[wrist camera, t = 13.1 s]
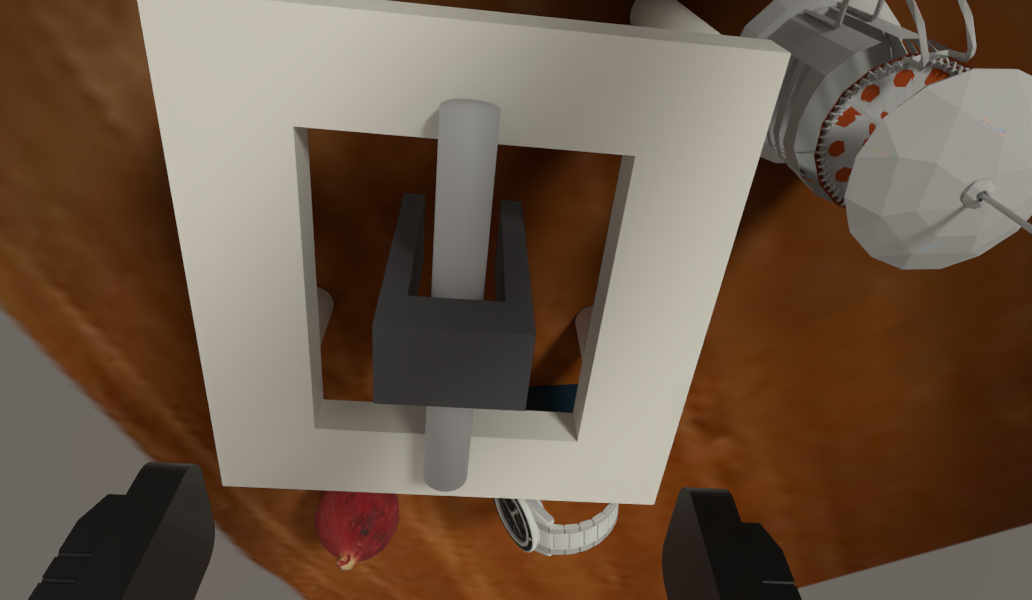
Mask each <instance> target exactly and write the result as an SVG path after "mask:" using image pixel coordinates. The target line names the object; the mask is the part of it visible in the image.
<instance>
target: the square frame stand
mask: <svg viewBox="0 0 1032 600" xmlns="http://www.w3.org/2000/svg"><path fill="white" fill-rule="evenodd" d="M137 2H138V8H139V13H140V19H141V25H142V30H143V36H144V42H145V47H146V53H147V59H148V64H149V70H150V76H151V81H152V87H153V93H154V98H155V104H156V110H157V115H158V121H159V127H160V132H161V138H162V144H163V150H164V155H165V161H166V167H167V172H168V178H169V184H170V189H171V195H172V201H173V206H174V212H175V218H176V223H177V229H178V235H179V240H180V246H181V252H182V257H183V263H184V269H185V274H186V280H187V286H188V292H189V297H190V303H191V309H192V314H193V320H194V326H195V331H196V337H197V343H198V348H199V354H200V360H201V365H202V371H203V377H204V382H205V388H206V394H207V399H208V405H209V411H210V416H211V422H212V428H213V433H214V439H215V445H216V451H217V456H218V462H219V468H220V473H221V479H222V485H223V486H234V487H257V488H280V489H303V490H326V491H349V492H372V493H395V494H418V495H441V496H464V497H487V498H510V499H533V500H556V501H579V502H602V503H625V504H648V505H654V503H655V499H656V496H657V493H658V490H659V486H660V483H661V480H662V476H663V473H664V470H665V467H666V463H667V460H668V457H669V453H670V450H671V447H672V444H673V440H674V437H675V434H676V430H677V427H678V424H679V421H680V417H681V414H682V411H683V407H684V404H685V401H686V398H687V394H688V391H689V388H690V384H691V381H692V378H693V375H694V371H695V368H696V365H697V361H698V358H699V355H700V352H701V348H702V345H703V342H704V338H705V335H706V332H707V329H708V325H709V322H710V319H711V315H712V312H713V309H714V306H715V302H716V299H717V296H718V292H719V289H720V286H721V283H722V279H723V276H724V273H725V269H726V266H727V263H728V260H729V256H730V253H731V250H732V246H733V243H734V240H735V237H736V233H737V230H738V227H739V223H740V220H741V217H742V214H743V210H744V207H745V204H746V200H747V197H748V194H749V191H750V187H751V184H752V181H753V177H754V174H755V171H756V168H757V164H758V161H759V158H760V154H761V151H762V148H763V145H764V141H765V138H766V135H767V131H768V128H769V125H770V122H771V118H772V115H773V112H774V108H775V105H776V102H777V99H778V95H779V92H780V89H781V85H782V82H783V79H784V76H785V72H786V69H787V66H788V62H789V59H790V56H791V53H790V52H788V51H787V50H785V49H784V48H782V47H781V46H779V45H778V44H776V43H775V42H773V41H772V40H767V39H757V38H747V37H737V36H728V35H721V34H720V33H719V32H717V31H716V30H715V29H713V28H712V27H711V26H710V25H708V24H707V23H706V22H704V21H703V20H702V19H700V18H699V17H698V16H696V15H695V14H694V13H692V12H691V11H690V10H689V9H687V8H686V7H685V6H683V5H682V4H681V3H679V2H678V1H677V0H636V1H635V2H634V4H633V6H632V8H631V12H630V23H631V26H630V25H621V24H611V23H601V22H591V21H582V20H572V19H562V18H552V17H543V16H533V15H523V14H514V13H504V12H494V11H484V10H475V9H465V8H455V7H445V6H436V5H426V4H416V3H406V2H397V1H387V0H137ZM307 128H317V129H329V130H341V131H352V132H364V133H375V134H387V135H398V136H410V137H421V138H433V139H438V152H437V175H436V198H435V221H434V243H433V266H432V289H431V297H438V298H454V299H470V300H483V298H484V287H485V276H486V266H487V255H488V244H489V233H490V222H491V211H492V200H493V189H494V178H495V167H496V157H497V146H498V144H502V145H514V146H525V147H537V148H548V149H560V150H571V151H583V152H594V153H606V154H618V155H623V156H622V161H621V166H620V171H619V176H618V182H617V187H616V192H615V197H614V202H613V208H612V213H611V218H610V223H609V228H608V233H607V239H606V244H605V249H604V254H603V259H602V264H601V270H600V275H599V280H598V285H597V290H596V295H595V301H594V306H589V307H586V308H584V309H582V310H581V311H580V312H579V313H578V314H577V316H576V319H575V325H576V330H577V336H578V341H579V346H580V351H581V357H582V362H583V363H582V368H581V373H580V378H579V383H578V389H577V394H576V399H575V404H574V409H573V413H564V412H546V411H528V410H525V411H512V410H492V409H472V408H452V407H432V406H412V405H392V404H373V402H362V401H344V400H325V399H323V384H322V367H321V350H320V346H321V343H322V340H323V337H324V334H325V331H326V328H327V325H328V322H329V319H330V316H331V313H332V310H333V307H334V301H333V298H332V297H331V295H330V294H329V293H328V292H327V291H325V290H324V289H322V288H319V287H317V283H316V266H315V250H314V233H313V216H312V199H311V183H310V166H309V149H308V132H307Z"/></svg>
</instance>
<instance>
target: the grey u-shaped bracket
mask: <svg viewBox="0 0 1032 600" xmlns="http://www.w3.org/2000/svg"><path fill="white" fill-rule="evenodd" d="M424 222H425V194H414V193H404V195H403V199H402V204H401V208H400V212H399V216H398V220H397V224H396V228H395V233H394V237H393V241H392V245H391V249H390V253H389V258H388V262H387V266H386V270H385V274H384V278H383V282H382V287H381V291H380V295H379V299H378V303H377V307H376V311H375V316H374V320H373V324H372V345H373V404H392V405H412V406H432V407H452V408H472V409H492V410H512V411H525V409H526V402H527V395H528V388H529V380H530V373H531V366H532V359H533V352H534V345H535V338H536V331H535V322H534V312H533V303H532V293H531V284H530V274H529V265H528V255H527V246H526V237H525V227H524V218H523V208H522V202H519V201H506V200H501V206H500V216H499V227H498V237H497V248H496V258H495V285H496V301H485V300H470V299H454V298H438V297H422V296H418V290H419V284H420V277H421V271H422V264H423V253H424Z"/></svg>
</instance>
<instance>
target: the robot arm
mask: <svg viewBox="0 0 1032 600" xmlns="http://www.w3.org/2000/svg"><path fill="white" fill-rule="evenodd" d="M214 538H215V525H214V520H213V516H212V512H211V507H210V503H209V499H208V495H207V491H206V487H205V483H204V478H203V474H202V471H201V468H200V466H199V465H197V464H184V463H161V462H149V463H147V464H145V465H144V466H143V468H142V469H141V470H140V472H139V473H138V475H137V477H136V478H135V480H134V482H133V483H132V485H131V487H130V489H129V490H128V492H127V494H126V495H113V494H108V495H107V496H106V497H105V498H103V499H102V500H101V501H100V502H99V503H97V504H96V505H95V506H94V507H93V508H92V509H91V510H89V511H88V512H87V513H86V514H85V515H84V516H82V517H81V518H80V519H79V520H78V521H77V523H76V524H75V526H74V527H73V529H72V531H71V532H70V534H69V535H68V537H67V538H66V540H65V542H64V543H63V545H62V546H61V548H60V550H59V554H58V557H55V558H54V559H53V561H52V562H51V564H50V566H49V567H48V569H47V570H46V572H45V573H44V575H43V580H42V582H41V583H38V585H37V587H36V588H35V590H34V591H33V593H32V594H31V596H30V597H29V599H28V600H194V598H195V596H196V593H197V591H198V589H199V586H200V584H201V581H202V579H203V576H204V574H205V571H206V569H207V567H208V564H209V561H210V558H211V555H212V551H213V546H214ZM662 569H663V578H664V584H665V588H666V593H667V598H668V600H802V599H801V597H800V594H799V592H798V589H797V587H796V586H794V579H793V576H792V574H791V571H790V569H789V566H788V564H787V561H786V558H785V556H784V553H783V551H782V549H781V548H780V547H779V546H778V544H777V543H776V542H775V541H774V540H773V538H772V537H771V536H770V535H769V534H768V533H767V531H766V530H765V529H764V528H763V527H762V525H761V524H760V523H743V522H741V519H740V516H739V514H738V511H737V508H736V505H735V502H734V499H733V497H732V495H731V493H730V492H729V491H728V490H727V489H711V488H688V487H684V488H682V489H681V490H680V492H679V495H678V498H677V502H676V505H675V508H674V511H673V515H672V518H671V521H670V525H669V528H668V531H667V534H666V538H665V541H664V545H663V553H662Z"/></svg>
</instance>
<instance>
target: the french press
mask: <svg viewBox="0 0 1032 600" xmlns="http://www.w3.org/2000/svg"><path fill="white" fill-rule="evenodd" d="M906 1H907V4H908V6H909V9H910V11H911V14H912V16H913V18H914V21H915V23H916V26H917V28H918V34H916V33H914V32H911V31H909V30H907V29H904V28H902V27H900V24H899V22H898V21H897V19H896V18H895V16H894V14H893V13H892V11H891V10H890V8H889V7H888V5H887V4H886V2H885V0H773V1H772V2H771V3H770V4H769V5H768V6H767V7H766V8H765V9H763V10H762V11H761V12H760V13H759V14H758V15H757V16H756V17H755V18H754V19H752V20H751V21H750V22H749V23H748V24H747V25H746V26H745V28H744V29H743V31H742V33H741V35H740V37H747V38H757V39H767V40H772V41H773V42H775V43H776V44H778V45H779V46H781V47H782V48H784V49H785V50H787V51H788V52H790V53H791V56H790V59H789V62H788V66H787V69H786V72H785V76H784V79H783V82H782V85H781V89H780V92H779V95H778V99H777V102H776V105H775V108H774V112H773V115H772V118H771V122H770V125H769V128H768V131H767V135H766V138H765V141H764V145H763V148H762V151H761V154H760V157H762V158H765V159H767V160H769V161H772V162H774V163H786V164H787V165H788V167H789V168H790V169H792V170H793V171H794V172H795V173H796V175H797V176H798V177H799V178H800V179H801V180H802V181H803V182H804V183H805V184H806V185H807V186H808V187H809V188H810V189H811V190H812V191H813V192H814V193H815V194H816V195H817V196H819V197H822V198H824V199H827V200H829V201H832V202H834V203H835V204H836V205H838V206H840V207H843V208H845V209H846V211H847V218H848V224H849V230H850V233H851V234H852V235H853V236H854V237H855V239H856V240H857V241H858V242H859V243H860V244H861V245H862V247H863V248H864V249H865V250H866V251H867V252H868V254H869V255H870V256H871V257H873V258H876V259H878V260H881V261H883V262H885V263H888V264H890V265H893V266H895V267H898V268H900V269H942V268H944V267H947V266H950V265H953V264H956V263H959V262H962V261H965V260H968V259H971V258H974V257H977V256H980V255H981V254H983V253H984V252H986V251H987V250H989V249H990V248H992V247H993V246H995V245H996V244H998V243H999V242H1001V241H1002V240H1004V239H1006V238H1007V237H1009V236H1010V235H1012V234H1013V233H1015V232H1016V231H1018V230H1019V229H1020V227H1023V228H1024V229H1026V230H1027V231H1028V232H1030V233H1031V234H1032V225H1031V224H1029V223H1028V222H1027V220H1028V219H1029V217H1030V216H1031V215H1032V76H1030V75H1028V74H1026V73H1024V72H1022V71H1020V70H1018V69H975V68H974V69H972V68H971V67H970V66H968V65H966V64H964V63H963V62H962V60H963V61H966V62H967V61H968V60H969V59H970V58H971V57H972V56H973V55H974V54H975V51H976V39H975V31H974V23H973V15H972V13H971V11H970V8H969V6H968V3H967V1H966V0H958V2H959V5H960V8H961V10H962V13H963V15H964V18H965V24H966V33H967V43H968V50H967V52H966V54H965V53H960V52H956V51H953V50H951V49H949V48H947V47H945V46H943V45H941V44H939V43H936V42H934V41H932V40H930V39H928V38H926V30H925V23H924V21H923V18H922V16H921V14H920V11H919V9H918V7H917V4H916V2H915V0H906ZM916 38H919V41H918V40H917V39H916ZM902 39H904V40H905V42H906V44H907V46H908V48H909V50H910V52H911V54H908V53H907V51H906V49H905V47H904V45H903V43H902ZM909 39H912V40H913V41H914V42H915V43H916V44H917V45H918V47H919V49H920V52H921V54H918V53H917V51H916V49H915V47H914V46H913V44H912V42H911V41H910V40H909ZM928 41H929V42H931V43H933V44H934V45H935V46H936V47H937V48H938V49H939V50H940V51H938V50H936V49H935V48H934V47H933V46H932V45H931V44H930V43H929V42H928ZM928 47H929V48H930V49H931V50H932V51H933V53H928ZM800 169H801V170H803V171H804V172H805V173H806V174H807V175H806V174H804V173H802V172H800ZM801 175H802V176H804V177H807V178H809V179H811V180H813V181H814V182H815V183H816V184H817V185H816V184H814V183H812V182H810V181H807V180H805V179H803V178H802V176H801Z"/></svg>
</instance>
